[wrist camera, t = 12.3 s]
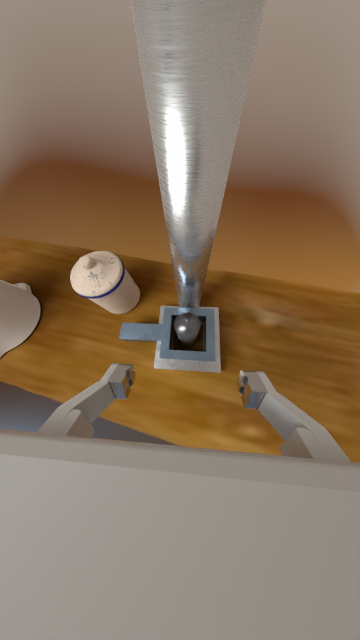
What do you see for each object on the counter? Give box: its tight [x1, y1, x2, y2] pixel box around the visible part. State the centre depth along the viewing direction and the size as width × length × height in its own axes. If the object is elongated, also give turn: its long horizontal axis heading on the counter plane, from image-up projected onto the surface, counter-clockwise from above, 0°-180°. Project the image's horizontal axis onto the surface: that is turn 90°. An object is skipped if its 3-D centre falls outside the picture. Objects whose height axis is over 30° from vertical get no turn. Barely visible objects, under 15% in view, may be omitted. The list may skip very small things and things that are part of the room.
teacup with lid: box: [70, 251, 140, 314], centre depth 24 cm, size 12×9×12 cm
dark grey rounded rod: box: [174, 312, 200, 346], centre depth 21 cm, size 3×3×10 cm
